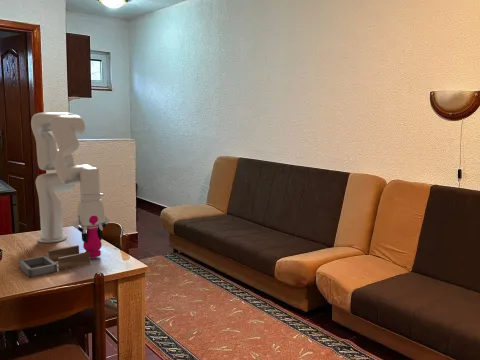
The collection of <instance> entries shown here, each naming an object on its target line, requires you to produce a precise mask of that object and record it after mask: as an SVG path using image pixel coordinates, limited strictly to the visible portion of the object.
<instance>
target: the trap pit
mask: <svg viewBox="0 0 480 360" xmlns="http://www.w3.org/2000/svg"><path fill="white" fill-rule="evenodd" d="M18 269H20V270H21V271H22V272H23V273H24V274H25V275H26V276H27V277H28V278H29V279H31V278H36V277H40V276H44V275H45V276H46V275H49V274H50V275H51V274H55V273H58V267H57V264H56V263H55V262H53V261H52V260H51V259H49V256H48V255H41V256H35V257H31V258H24V259H19V260H18Z"/></svg>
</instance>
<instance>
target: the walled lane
mask: <svg viewBox="0 0 480 360" xmlns="http://www.w3.org/2000/svg"><path fill="white" fill-rule="evenodd" d="M47 252H48V255H47V257H48V258H49V259H51V260H52V261H53V262H55V263H56V264H57V269H58V271H59V272H62V271H63V272H64V271H67V270H72V269H77V268H81V267H85V266H90V265H91V258H90V252H86V251H84V252H81V253H80V245H78V244H76V245H70V246H66V247H61V248H55V249H49V250H48V251H47Z"/></svg>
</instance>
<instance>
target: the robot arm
mask: <svg viewBox="0 0 480 360" xmlns="http://www.w3.org/2000/svg"><path fill="white" fill-rule="evenodd" d="M30 126H31V130H32V134H33V136H34V139H35V143H36V145H35V146H36V157H37V158H36V159H37V166H38V168H39V170H41V171H55V172H47V173H42V174H39V175H38V176H37V177H36V179H35V186H36V191H37V196H38V203H39V204H38V206H39V207H38V208H39V218H40V219H39V221H40V236H38V238H37V241H38V242H40V243H44V244H45V243H46V244H49V243H58V242H62V241H64V240H66V239H67V235H66V234H65V233H64V231H63V230H64V229H63V213H62V212H63V211H62V210H63V209H62V201H61V200H60V198H59V197H58V196H57V195H56V194H59V193H66V192H71V191H73V190H74V189H75V187H76V184H79V188H80V201H78V203H77V213H76V215H77V216H76V220H75V221H74V223H73V225H72V227H74V228H75V229H77V231H79V232H80V233H81V240H82V242H83V243H84V242H85V243H87V226H90V225H93V224H91V223H90V222H89V219H90V217H91V216H97V217H98V221H97V222H96V223H95V224H98V227H97V233H98V236H99V238H100V240H101V241H102V239H103V230H104V228H105V227H106V226H107V225H108V224H109V223H110V220H109V218H108V217H106V215H105V209H104V205H103V201H102V199H101V198H102V197H104V193H101V187H100V186H101V185H100V183H101V182H100V170H99V168H98V167H95V166H91V164H80V165H79V164H76V165H75V159H74V155H73V153H74V152H76V151H77V150H78V149H79V147H80V142H79V139H78V137H77V135H82V134H83V133H84V132H85V130H86V124H85V121H84V119H83V117H82V116H80V115H78V114H76V113H75V114H74V113H72V112H60V111H59V112H58V111H57V112H54V111H53V112H51V111H50V112H49V111H47V112H45V111H44V112H43V111H42V112H38V113H35V114H33V115H32V117H31V121H30ZM57 147H58V148H57Z"/></svg>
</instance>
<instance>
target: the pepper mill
mask: <svg viewBox="0 0 480 360" xmlns="http://www.w3.org/2000/svg"><path fill="white" fill-rule="evenodd" d="M97 221H98V217H97V216H91V217H90V219H89V222H90V223H91V224H93V225H90V226H87V229H86V233H87V243H85V242H83V245H82V247H83V250H85V252H90V259H95V258H98V257H100V256H101V255H102V251H101V248H102V246H103V244H102V240H100V238H99V236H98V233H97V229H98V224H95V223H96V222H97Z"/></svg>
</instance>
